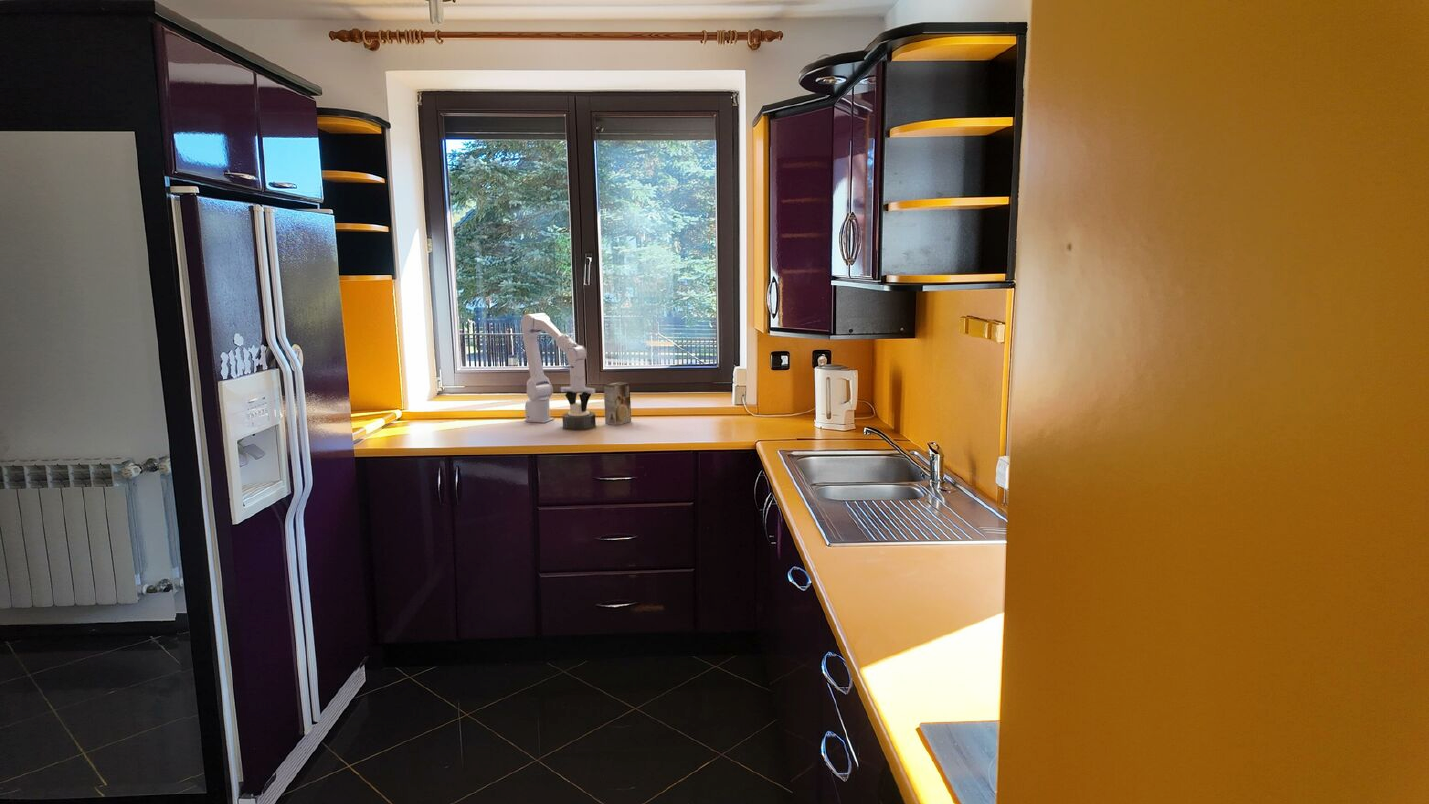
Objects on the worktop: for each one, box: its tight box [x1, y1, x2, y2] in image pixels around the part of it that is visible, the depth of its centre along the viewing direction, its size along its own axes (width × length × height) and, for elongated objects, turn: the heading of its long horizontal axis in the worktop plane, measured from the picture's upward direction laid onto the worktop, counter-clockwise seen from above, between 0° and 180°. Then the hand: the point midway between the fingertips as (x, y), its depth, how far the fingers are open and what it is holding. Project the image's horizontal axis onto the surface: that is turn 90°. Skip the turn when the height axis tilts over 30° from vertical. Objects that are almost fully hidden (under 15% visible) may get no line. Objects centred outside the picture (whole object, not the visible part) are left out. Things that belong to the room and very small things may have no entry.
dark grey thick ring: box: [561, 411, 597, 431], centre depth 332 cm, size 13×13×5 cm
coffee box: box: [603, 381, 632, 426], centre depth 338 cm, size 9×6×16 cm
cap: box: [567, 401, 590, 417], centre depth 331 cm, size 8×8×7 cm
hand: (578, 410), depth 331 cm, fingers closed on cap, 4 cm apart
